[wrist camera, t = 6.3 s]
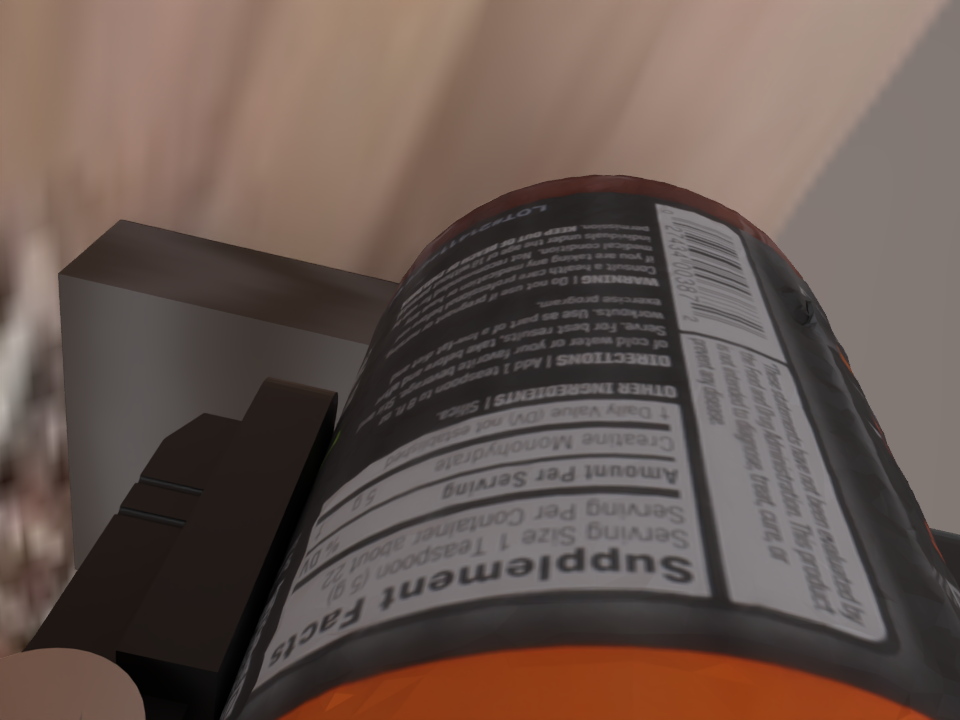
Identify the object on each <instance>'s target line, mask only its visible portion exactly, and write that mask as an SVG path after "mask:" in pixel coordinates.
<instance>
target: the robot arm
mask: <svg viewBox="0 0 960 720" xmlns="http://www.w3.org/2000/svg"><path fill="white" fill-rule="evenodd" d="M337 407H338V392H335V391H330V390H326V389H321V388H317V387H313V386H308V385H304V384H299V383H295V382H291V381H286V380H282V379H277V378H273V377H267V378H266V379H265V380H264V381H263V383H262V385H261V386H260V388H259V390H258V392H257V394H256V396H255V397H254V399H253V401H252V403H251V405H250V407H249V408H248V410H247V412H246V414H245V416H244V417H243V419H242V421H239V420H235V419H230V418H226V417H222V416H217V415H213V414H208V413H203V414H201V415H200V416H198V417H197V418H195V419H194V420H192V421H191V422H189V423H187V424H186V425H184V426H183V427H181V428H180V429H178V430H177V431H175V432H174V433H172V434H170V435H169V436H167V437H166V438H164V439H163V441H162V442H161V444H160V445H159V447H158V448H157V450H156V451H155V453H154V455H153V456H152V458H151V459H150V461H149V462H148V464H147V465H146V467H145V468H144V470H143V471H142V473H141V474H140V478H139V481H138V483H135V484H134V485H133V487H132V488H131V490H130V491H129V493H128V494H127V496H126V497H125V499H124V500H123V502H122V503H121V505H120V509H119V512H118V514H114V516H113V517H112V519H111V520H110V522H109V523H108V525H107V526H106V528H105V529H104V531H103V532H102V534H101V535H100V537H99V538H98V540H97V542H96V543H95V545H94V546H93V548H92V549H91V551H90V552H89V554H88V555H87V557H86V558H85V560H84V561H83V563H82V564H81V566H80V568H79V569H78V571H77V572H76V574H75V575H74V577H73V578H72V580H71V581H70V583H69V584H68V586H67V587H66V589H65V590H64V592H63V593H62V595H61V597H60V598H59V600H58V601H57V603H56V604H55V606H54V607H53V609H52V610H51V612H50V613H49V615H48V616H47V618H46V619H45V621H44V622H43V624H42V626H41V627H40V629H39V630H38V632H37V633H36V635H35V636H34V637H33V639H32V640H31V641H30V643H29V644H28V645H27V646H26V648H25V649H24V650H23V651H22V652H21V653H17V654H14V655H11V656H8V657H5V658H2V659H0V720H219V719H220V716H221V714H222V711H223V709H224V706H225V704H226V701H227V699H228V696H229V694H230V691H231V689H232V686H233V684H234V681H235V679H236V676H237V673H238V671H239V668H240V666H241V663H242V661H243V658H244V656H245V653H246V650H247V648H248V645H249V643H250V640H251V638H252V636H253V633H254V631H255V629H256V626H257V624H258V621H259V617H260V615H261V613H262V610H263V608H264V605H265V603H266V600H267V598H268V596H269V593H270V591H271V588H272V586H273V584H274V579H275V576H276V574H277V572H278V570H279V567H280V565H281V563H282V561H283V559H284V556H285V553H286V551H287V548H288V545H289V542H290V539H291V537H292V535H293V533H294V531H295V528H296V525H297V522H298V520H299V518H300V515H301V512H302V510H303V508H304V506H305V503H306V501H307V498H308V496H309V493H310V491H311V488H312V486H313V483H314V481H315V479H316V476H317V474H318V471H319V469H320V467H321V464H322V462H323V459H324V457H325V454H326V451H327V449H328V447H329V444H330V441H331V438H332V435H333V433H334V428H335V421H336V414H337ZM930 530H931V532H932V534H933V536H934V539H935V542H936V544H937V547H938V549H939V551H940V553H941V555H942V558H943V560H944V562H945V564H946V565H947V567H948V568H949V570H950V571H951V573H952V574H953V576H954V578H955V580H956V583H957V585H958V587H959V589H960V535H958V534H953V533H949V532H945V531H940V530H936V529H931V528H930Z"/></svg>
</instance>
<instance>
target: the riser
mask: <svg viewBox="0 0 960 720" xmlns="http://www.w3.org/2000/svg"><path fill="white" fill-rule="evenodd" d="M58 280H59V298H60V316H61V333H62V351H63V369H64V386H65V404H66V422H67V439H68V457H69V475H70V492H71V510H72V528H73V545H74V563H75V569H76V570H78V569H79V568H80V566H81V564H82V563H83V561H84V560H85V558H86V557H87V555H88V554H89V552H90V551H91V549H92V548H93V546H94V545H95V543H96V542H97V540H98V538H99V537H100V535H101V534H102V532H103V531H104V529H105V528H106V526H107V525H108V523H109V522H110V520H111V519H112V517H113V516H114V514H118V512H119V509H120V505H121V503H122V502H123V500H124V499H125V497H126V496H127V494H128V493H129V491H130V490H131V488H132V487H133V485H134V484H135V483H138V481H139V478H140V474H141V473H142V471H143V470H144V468H145V467H146V465H147V464H148V462H149V461H150V459H151V458H152V456H153V455H154V453H155V451H156V450H157V448H158V447H159V445H160V444H161V442H162V441H163V439H164V438H166V437H167V436H169V435H170V434H172V433H174V432H175V431H177V430H178V429H180V428H181V427H183V426H184V425H186V424H187V423H189V422H191V421H192V420H194V419H195V418H197V417H198V416H200V415H201V414H203V413H208V414H213V415H217V416H222V417H226V418H230V419H235V420H239V421H242V419H243V417H244V416H245V414H246V412H247V410H248V408H249V407H250V405H251V403H252V401H253V399H254V397H255V396H256V394H257V392H258V390H259V388H260V386H261V385H262V383H263V381H264V380H265V379H266V378H267V377H273V378H277V379H282V380H286V381H291V382H295V383H299V384H304V385H308V386H313V387H317V388H321V389H326V390H330V391H335V392H338V407H337V414H336V421H335V428H336V426H337V423H338V421H339V419H340V416H341V414H342V411H343V408H344V406H345V404H346V401H347V399H348V396H349V394H350V391H351V388H352V386H353V384H354V381H355V379H356V377H357V374H358V372H359V369H360V366H361V365H362V362H363V360H364V357H365V355H366V352H367V350H368V347H369V345H370V342H371V339H372V336H373V334H374V331H375V329H376V326H377V324H378V323H379V320H380V318H381V316H382V314H383V313H384V311H385V310H386V308H387V306H388V304H389V302H390V300H391V298H392V297H393V295H394V293H395V291H396V290H397V288H398V286H399V284H397V283H393V282H389V281H384V280H380V279H376V278H371V277H367V276H363V275H358V274H354V273H350V272H345V271H341V270H337V269H332V268H328V267H324V266H319V265H315V264H311V263H306V262H302V261H298V260H293V259H289V258H285V257H280V256H276V255H272V254H267V253H263V252H259V251H254V250H250V249H246V248H241V247H237V246H233V245H228V244H224V243H220V242H215V241H211V240H207V239H202V238H198V237H194V236H189V235H185V234H181V233H176V232H172V231H168V230H163V229H159V228H155V227H150V226H146V225H142V224H137V223H133V222H129V221H124V220H119V221H118V222H117V223H116V224H115V225H114V226H112V227H111V228H110V229H109V230H108V231H107V232H106V233H104V234H103V235H102V236H101V237H100V238H99V239H98V240H96V241H95V242H94V243H93V244H92V245H91V246H89V247H88V248H87V249H86V250H85V251H84V252H83V253H81V254H80V255H79V256H78V257H77V258H76V259H74V260H73V261H72V262H71V263H70V264H69V265H68V266H66V267H65V268H64V269H63V270H62V271H61V272H59V273H58ZM335 428H334V431H335Z"/></svg>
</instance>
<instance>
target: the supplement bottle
mask: <svg viewBox="0 0 960 720" xmlns="http://www.w3.org/2000/svg"><path fill="white" fill-rule="evenodd" d="M219 720H960V589H959V587H958V585H957V583H956V580H955V578H954V576H953V574H952V573H951V571H950V570H949V568H948V567H947V565H946V564H945V562H944V560H943V558H942V555H941V553H940V551H939V549H938V547H937V544H936V542H935V539H934V536H933V534H932V532H931V530H930V528H929V526H928V524H927V522H926V520H925V518H924V515H923V513H922V511H921V509H920V506H919V504H918V502H917V500H916V498H915V496H914V493H913V491H912V490H911V488H910V487H909V484H908V481H907V480H906V478H905V476H904V475H903V473H902V471H901V470H900V468H899V467H898V465H897V463H896V461H895V459H894V457H893V455H892V453H891V451H890V449H889V447H888V445H887V442H886V439H885V435H884V433H883V431H882V429H881V428H880V425H879V423H878V421H877V418H876V416H875V415H874V413H873V411H872V409H871V408H870V406H869V404H868V402H867V400H866V398H865V395H864V393H863V391H862V389H861V387H860V385H859V383H858V381H857V380H856V378H855V377H854V375H853V373H852V371H851V368H850V364H849V360H848V357H847V355H846V353H845V351H844V349H843V347H842V346H841V345H840V343H839V342H838V340H837V338H836V337H835V335H834V333H833V331H832V329H831V327H830V324H829V322H828V319H827V316H826V314H825V312H824V311H823V309H822V307H821V306H820V304H819V302H818V301H817V299H816V298H815V296H814V294H813V293H812V291H811V289H810V288H809V286H808V284H807V283H806V282H805V281H804V280H803V278H802V276H801V275H800V274H799V272H798V271H797V270H796V269H795V267H794V266H793V265H792V264H791V262H790V261H789V260H788V258H787V257H786V256H785V255H784V253H783V252H782V251H781V250H780V249H779V248H778V247H777V245H776V244H775V243H774V242H773V241H772V240H771V239H770V238H769V237H768V236H767V235H766V234H765V233H764V232H763V231H761V230H760V229H758V228H757V227H756V226H754V225H753V224H752V223H751V222H749V221H748V220H747V219H745V218H744V217H743V216H741V215H740V214H739V213H737V212H736V211H734V210H731V209H729V208H727V207H725V206H723V205H722V204H720V203H718V202H716V201H713V200H711V199H708V198H706V197H703V196H701V195H699V194H697V193H694V192H692V191H690V190H687V189H684V188H680V187H677V186H674V185H670V184H667V183H664V182H658V181H654V180H647V179H643V178H639V177H632V176H625V175H615V176H611V175H604V176H603V175H589V176H582V177H570V178H565V179H559V180H552V181H546V182H542V183H539V184H535V185H532V186H529V187H525V188H522V189H519V190H515V191H512V192H509V193H507V194H504V195H502V196H500V197H498V198H496V199H494V200H492V201H491V202H489V203H486V204H484V205H482V206H480V207H478V208H476V209H474V210H473V211H471V212H470V213H468V214H467V215H466V216H464V217H463V218H461V219H459V220H457V221H456V222H455V223H453V224H452V225H451V226H449V227H448V228H447V229H446V230H445V231H444V232H442V233H441V234H440V235H439V236H438V237H437V238H435V239H434V240H433V241H432V242H431V243H429V244H428V245H427V246H426V248H425V249H424V250H423V251H422V252H421V254H420V255H419V256H418V258H417V259H416V261H415V262H414V264H413V265H412V266H411V268H410V269H409V270H408V272H407V273H406V274H405V276H404V277H403V278H402V280H401V282H400V284H399V286H398V288H397V290H396V291H395V293H394V295H393V297H392V298H391V300H390V302H389V304H388V306H387V308H386V310H385V311H384V313H383V314H382V316H381V318H380V320H379V323H378V324H377V326H376V329H375V331H374V334H373V336H372V339H371V342H370V345H369V347H368V350H367V352H366V355H365V357H364V360H363V362H362V365H361V366H360V369H359V372H358V374H357V377H356V379H355V381H354V384H353V386H352V388H351V391H350V394H349V396H348V399H347V401H346V404H345V406H344V408H343V411H342V414H341V416H340V419H339V421H338V423H337V426H336V428H335V431H334V433H333V435H332V438H331V441H330V444H329V447H328V449H327V451H326V454H325V457H324V459H323V462H322V464H321V467H320V469H319V471H318V474H317V476H316V479H315V481H314V483H313V486H312V488H311V491H310V493H309V496H308V498H307V501H306V503H305V506H304V508H303V510H302V512H301V515H300V518H299V520H298V522H297V525H296V528H295V531H294V533H293V535H292V537H291V539H290V542H289V545H288V548H287V551H286V553H285V556H284V559H283V561H282V563H281V565H280V567H279V570H278V572H277V574H276V576H275V579H274V584H273V586H272V588H271V591H270V593H269V596H268V598H267V600H266V603H265V605H264V608H263V610H262V613H261V615H260V617H259V621H258V624H257V626H256V629H255V631H254V633H253V636H252V638H251V640H250V643H249V645H248V648H247V650H246V653H245V656H244V658H243V661H242V663H241V666H240V668H239V671H238V673H237V676H236V679H235V681H234V684H233V686H232V689H231V691H230V694H229V696H228V699H227V701H226V704H225V706H224V709H223V711H222V714H221V716H220V719H219Z"/></svg>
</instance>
